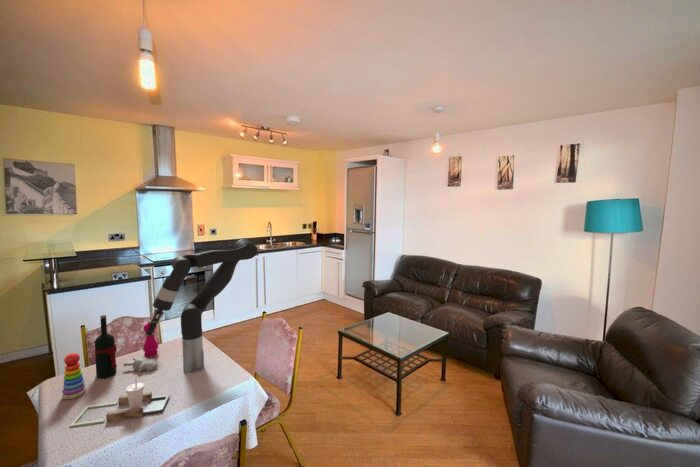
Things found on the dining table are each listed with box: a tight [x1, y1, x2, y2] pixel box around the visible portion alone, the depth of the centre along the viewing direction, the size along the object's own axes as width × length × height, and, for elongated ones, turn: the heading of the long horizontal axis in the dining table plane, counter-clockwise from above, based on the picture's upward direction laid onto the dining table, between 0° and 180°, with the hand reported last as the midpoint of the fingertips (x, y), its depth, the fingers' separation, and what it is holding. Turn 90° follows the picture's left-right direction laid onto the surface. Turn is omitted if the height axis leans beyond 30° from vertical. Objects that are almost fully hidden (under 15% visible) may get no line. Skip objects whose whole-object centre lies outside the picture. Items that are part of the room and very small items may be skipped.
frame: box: [68, 401, 118, 428], centre depth 125 cm, size 11×12×1 cm
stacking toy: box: [61, 352, 87, 400], centre depth 137 cm, size 8×8×19 cm
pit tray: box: [143, 394, 170, 416], centre depth 131 cm, size 7×10×1 cm
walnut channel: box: [105, 391, 153, 423], centre depth 129 cm, size 12×12×3 cm
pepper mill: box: [142, 319, 159, 359], centre depth 174 cm, size 7×7×20 cm
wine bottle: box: [94, 314, 118, 380], centre depth 152 cm, size 8×10×30 cm
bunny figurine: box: [123, 356, 159, 372], centre depth 160 cm, size 10×5×15 cm
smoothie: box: [125, 376, 145, 409], centre depth 129 cm, size 6×6×14 cm
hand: (150, 331), depth 142 cm, fingers open, 8 cm apart
